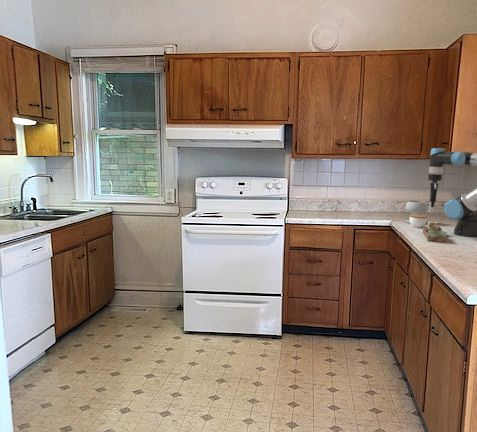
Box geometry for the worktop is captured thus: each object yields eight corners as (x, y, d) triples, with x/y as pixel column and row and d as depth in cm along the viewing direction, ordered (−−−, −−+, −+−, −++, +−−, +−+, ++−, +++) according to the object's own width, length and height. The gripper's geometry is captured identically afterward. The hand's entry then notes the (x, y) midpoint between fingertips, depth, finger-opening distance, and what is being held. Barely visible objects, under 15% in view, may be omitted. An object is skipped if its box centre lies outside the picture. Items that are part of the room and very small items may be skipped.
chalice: (418, 225, 287) (420, 203, 285) (400, 221, 299) (402, 200, 297) (430, 223, 295) (432, 202, 293) (412, 220, 307) (414, 200, 304)
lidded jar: (411, 224, 288) (412, 211, 286) (428, 227, 281) (429, 213, 279) (406, 226, 279) (407, 212, 278) (423, 229, 273) (424, 214, 271)
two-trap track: (438, 233, 258) (439, 224, 257) (445, 242, 232) (446, 231, 231) (422, 232, 260) (423, 223, 259) (427, 241, 235) (428, 230, 234)
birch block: (435, 229, 256) (436, 221, 255) (436, 230, 252) (437, 223, 251) (427, 228, 257) (428, 221, 256) (428, 229, 253) (429, 222, 252)
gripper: (427, 173, 264) (423, 210, 268) (429, 174, 252) (426, 213, 256) (440, 173, 262) (436, 211, 266) (443, 174, 250) (439, 214, 254)
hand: (431, 212), depth 261 cm, fingers closed
